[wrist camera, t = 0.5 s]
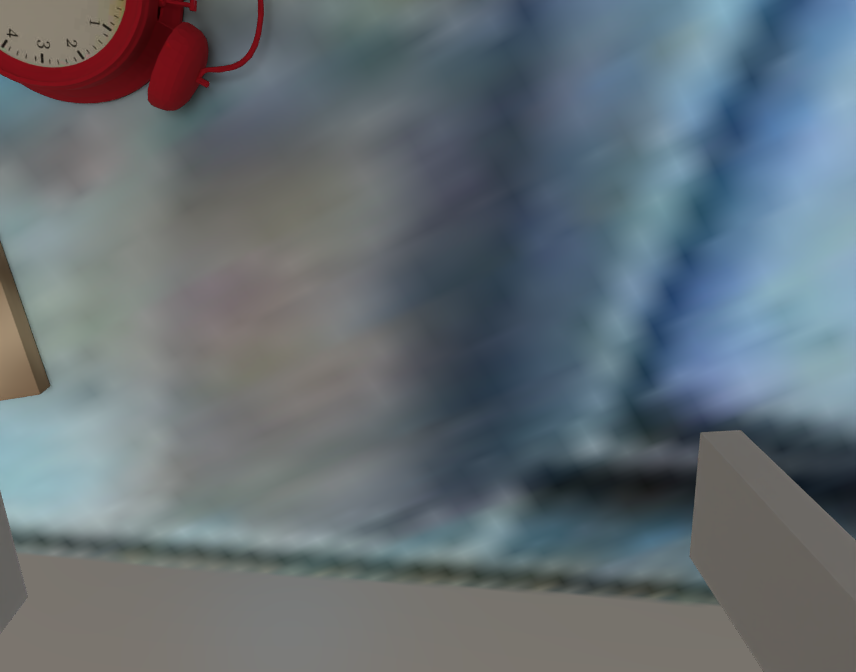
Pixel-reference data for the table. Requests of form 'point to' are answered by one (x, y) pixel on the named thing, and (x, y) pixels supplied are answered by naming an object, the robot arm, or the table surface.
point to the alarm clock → (107, 49)
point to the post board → (17, 344)
